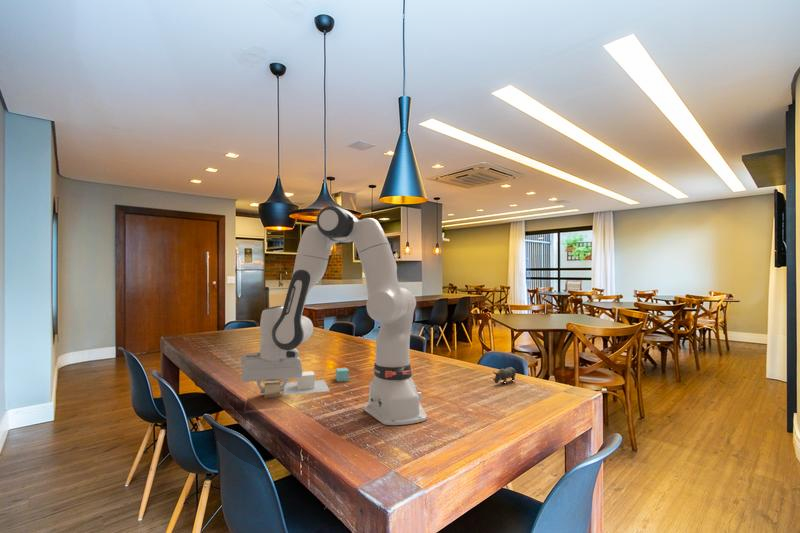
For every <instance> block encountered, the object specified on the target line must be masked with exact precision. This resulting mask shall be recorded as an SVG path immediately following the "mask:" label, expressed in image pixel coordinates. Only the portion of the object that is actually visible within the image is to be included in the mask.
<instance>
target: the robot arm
mask: <svg viewBox="0 0 800 533" xmlns="http://www.w3.org/2000/svg"><path fill="white" fill-rule="evenodd" d="M352 243H353V244H354V246H355V249H356V252H357V255H358V258H359V261H360V264H361V267H362V270H363V273H364V276H365V281H366V282H365V283H366V287H367V301H366V304H365V305H366V312H367V315H368V316H369V317H370V318H371V319H372V320H373V321H375V322H377V323H380V327H379V331H378V334H377V337H375V338H376V339H375V363H374V366H373V375H374V377H373V378H372V380H371V381H370V382H369V387H368V389H369V391H368V403H367V404H365V405H364V406H363V411H364V412H366V413H367V414H369V415H370V416H372V417H373V418H374V419H376V420H377V421H379V423H381V424H383V425H387V426H401V425H411V424H416V423H420V422H421V423H422V422H424V421H426V420H428V415H427V414H426V412H425V409H424V407H423V406H422V405H421V403H420V401H421V400H423V394H422V392H421V391H417V390H418V385H416V384H415V382H414V379H413V378H412V376H413V375H412V367H411V366H412V365H411V362H410V345H411V344H410V343H411V342H410V341H411V340H410V339H411V334H412V333H411V332H412V328H413V321H414V314H415V309H416V307H417V299H416V296H415V295H414V293H413V292H411V291H410V290H409V289H407V288H405V287H402V286H399V281H398V273H397V272H398V271H397V270H398V265H397V262H396V261H397V260H395V259H396V258H395V256H394V253H393V250H392V248H391V244H390V242H389V240H388V237H387V235H386V233H385V231H384V229H383V227H382V225H381V224H380V222H379V221H378V220H377V219H375V218H373V217H365V218H362V219H360V218H359V217H358V216H356V215H354V213H352V212H351V211H349V210H346V209H344V208H342V207H340V206H336V205H330V206H325V207H324V208H322V209H321V210H320V211H319V212H318V214H317V216H316V224H313V225H308V226H306V228H305V229H304V230H303V233H302V235H301V238H300V240H299V243H298V247H297V251H296V256H295V261H294V266H293V272H292V274H291V279H290V282H289V285H288V290H287V293H286V296H285V300H284V303H283V305H276V306H270V307H267V308H264V309H263V310H262V312H261V315H260V323H259V324H260V325H259V334H260V342H259V352H256V353H245V354H244V355H242V356H241V358H240V366H241V367H242V368H241V369H242V370H241V374H240V375H241V377H240V379H241V381H242V382H243V383H246V382H256V384H257V386H258V388H259V393H260V394H265V386H262V382H263V381H274V380H275V381H276V380H283V382H282V385H280V393H284V387H285V385H286V383H288V379H297V378H300V377H301V376H302V372H303V367H302V366H303V364H302V361H301V359H300V357H299V355H300V352H299V350H298V349H297V347H299V346H300V345H301V344H303V343H305V342H306V341H308V340H309V339H310V338H311V337H312V336H313V334H314V330H315V329H314V323H313V322H312V320H311V319H310V318H309V317H307V316H305V315H303V312H304V308H305V304H306V300H307V298H308V295H309V293H310V291H311V290H312V289H313V288H314V286H315V285H316V284H318V283H319V282H320V281H321V280H322V278H324V275H325V273H326V270H327V268H328V264H329V258H330V254H331V250H332V247H333V246H334V245H335V244H336V245H337V246H341V245H349V244H352Z"/></svg>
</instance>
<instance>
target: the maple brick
mask: <svg viewBox="0 0 800 533" xmlns="http://www.w3.org/2000/svg"><path fill="white" fill-rule="evenodd" d="M280 381H281V380H275V381H274V380H270V381H264V387H265V393H264V399H270V398H280V397H281V392H280V386H281V382H280Z"/></svg>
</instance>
